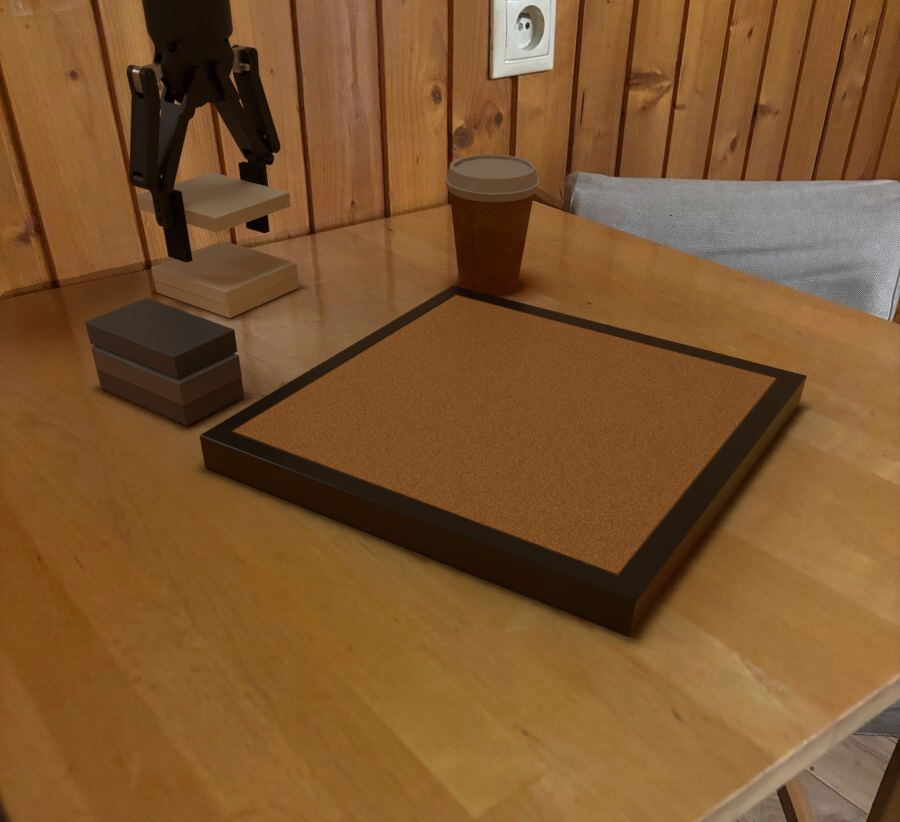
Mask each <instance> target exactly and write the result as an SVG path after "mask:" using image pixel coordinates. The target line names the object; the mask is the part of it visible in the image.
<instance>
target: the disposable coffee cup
mask: <svg viewBox="0 0 900 822" xmlns="http://www.w3.org/2000/svg"><path fill="white" fill-rule="evenodd" d="M536 167H537V166H536V165H535V163H534V162H532V161H530V160H528V159H525V158H522V157H518V156H513V155H505V154H489V153H488V154H487V153H486V154H473V155H467V156H464V157H463V156H462V157H459V158H456V159H454V160H453V161H451V162H450V164H449V168H448V171H447V174H446V175H445V177H444V183H445V185H446V188H447V191H448V192H449V199H450V208H451V210H450V211H451V218H452V226H453V228H452V230H453V238H454V244H455V245H454V248H455V256H456V265H457V274H458V275H457V276H458V285H459V286H458V287H462V288H465V289H469V290H473V291H477V292H481V293H485V294H489V295H493V296H500V295H501V296H502V295H506V294H509V293H512V292H514V291H515V290H516V289H517V288H518V286H519V279H520V273H521V268H522V261H523V257H524V251H525V246H526V240H527V234H528V229H529V224H530V218H531V213H532V209H533V208H532V207H533V202H534V196H535V194H536V192H537V191H538V190H537V189H538V187H539V185H540V181H541V179H540V178H539V177H538V175H537V168H536Z"/></svg>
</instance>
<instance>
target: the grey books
mask: <svg viewBox="0 0 900 822" xmlns="http://www.w3.org/2000/svg"><path fill="white" fill-rule="evenodd" d="M84 324H85V328H86V331H87V335H88V339H89V343H90V344H91V345H92V346H91V347H90V349H91V353H92V357H93V358H92V359H93V362H94V365H95V369H96V373H97V377H98V380H99V385H100V388H101V389H102V390H103V391H106V392H108V393H111V394H113V395H116V396H118V397H120V398H122V399H124V400H127V401H129V402H131V403H134V404H136V405H138V406H140V407H143V408H145V409H148V410H150V411H152V412H154V413H157V414H159V415H161V416H163V417H166V418H168V419H170V420H173V421H175V422H177V423H179V424H182V425H184V426H186V427H188V426H190V425H192V424H194V423H196V422H198V421H200V420H201V419H203V418H205V417H207V416H209V415H211V414H213V413H215V412H217V411H219V410H221V409H223V408H224V407H225V408H226V407H227V406H229V405H230V404H232V403H234V402H236V401H238V400H241V399H242V398H244V397H245V393H244V384H243V379H242V377H243V374H242V369H241V360H240V355H239V354H236V353H237V352H238V345H237V337H236V331H235V329H234V328H232V327H228V326H226V325H223V324H220V323H218V322H214V321H212V320H209V319H206V318H204V317H201V316H198V315H195V314H193V313H190V312H187V311H184V310H181V309H179V308H176V307H173V306H170V305H168V304H165V303H162V302H159V301H156V300H153V299H151V298H148V297H144V298H142V299H139V300H137V301H134V302H132V303H129V304H126V305H124V306H122V307H119V308H117V309H114V310H111V311H108V312H107V313H104V314H101V315H98V316H96V317H94V318H91V319H89V320H86V321H85V322H84Z"/></svg>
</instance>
